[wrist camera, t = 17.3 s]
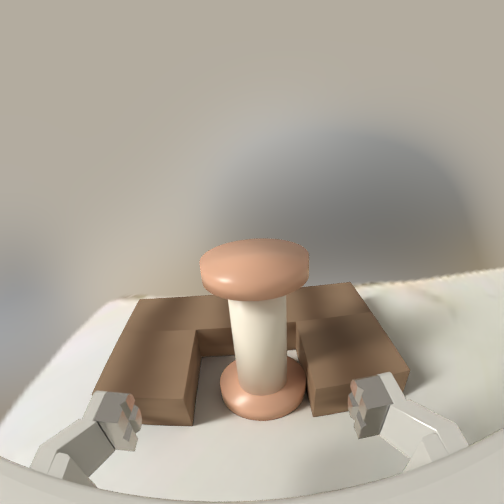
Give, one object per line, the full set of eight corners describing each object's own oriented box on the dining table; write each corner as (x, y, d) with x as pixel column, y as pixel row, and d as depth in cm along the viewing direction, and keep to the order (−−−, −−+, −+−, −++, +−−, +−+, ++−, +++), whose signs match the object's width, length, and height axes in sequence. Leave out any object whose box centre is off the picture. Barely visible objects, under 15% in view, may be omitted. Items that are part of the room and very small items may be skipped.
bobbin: (299, 359, 25) (299, 235, 21) (311, 416, 19) (319, 274, 15) (224, 365, 25) (206, 242, 21) (219, 422, 19) (191, 283, 15)
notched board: (348, 306, 32) (350, 282, 31) (400, 398, 19) (410, 370, 18) (146, 323, 32) (139, 299, 31) (106, 420, 19) (91, 394, 18)
